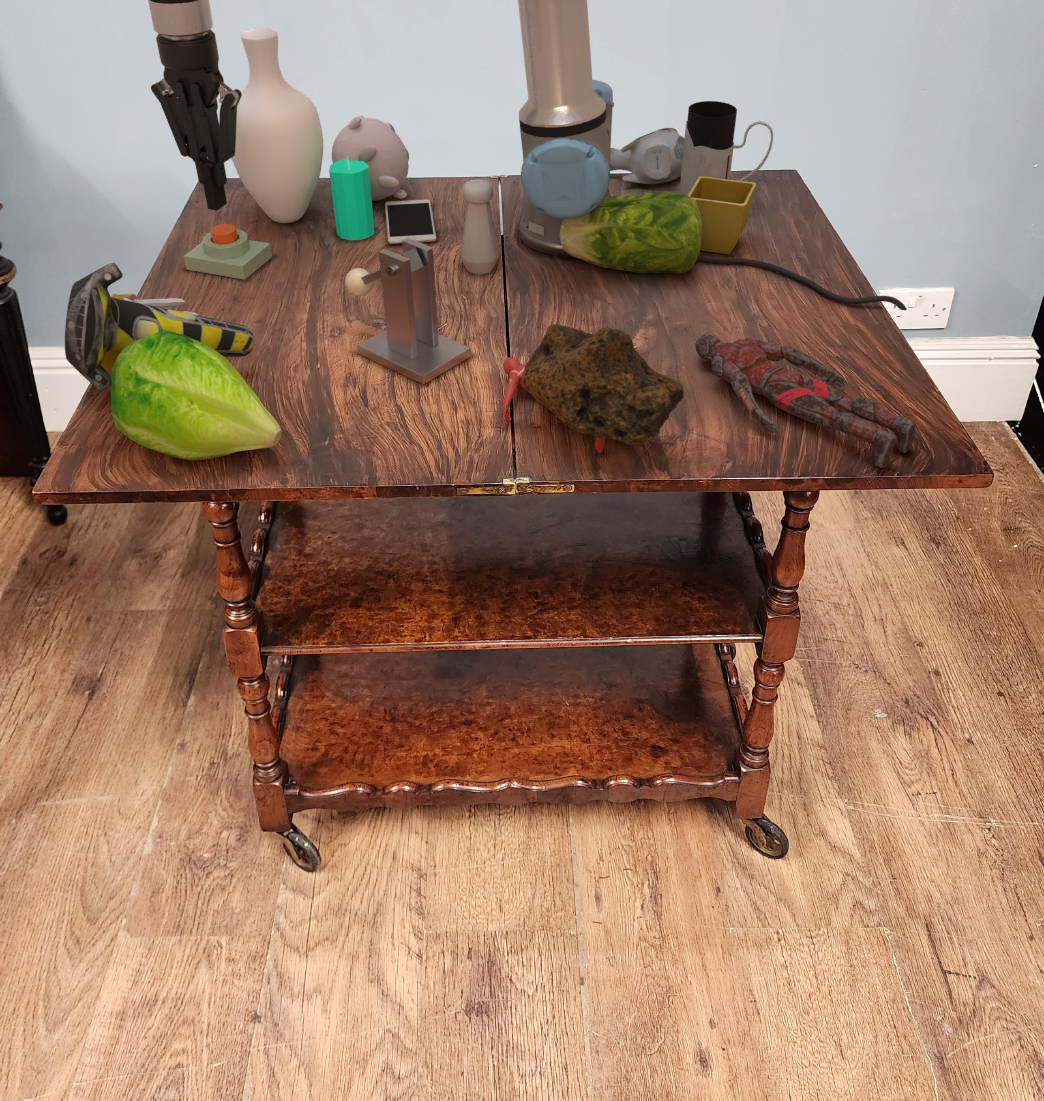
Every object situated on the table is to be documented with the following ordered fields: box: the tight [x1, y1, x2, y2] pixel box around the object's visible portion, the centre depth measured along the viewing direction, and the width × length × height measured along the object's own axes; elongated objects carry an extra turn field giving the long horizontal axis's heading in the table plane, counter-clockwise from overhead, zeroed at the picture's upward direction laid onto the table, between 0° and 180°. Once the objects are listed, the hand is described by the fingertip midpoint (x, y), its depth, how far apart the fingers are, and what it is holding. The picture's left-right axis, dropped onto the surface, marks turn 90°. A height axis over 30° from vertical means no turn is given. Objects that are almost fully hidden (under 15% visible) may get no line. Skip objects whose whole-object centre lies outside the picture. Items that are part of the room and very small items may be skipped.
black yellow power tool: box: [64, 262, 255, 392], centre depth 125 cm, size 14×26×10 cm
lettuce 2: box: [559, 190, 702, 276], centre depth 157 cm, size 12×21×11 cm, turn 86°
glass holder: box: [678, 100, 774, 195], centre depth 172 cm, size 9×14×15 cm, turn 74°
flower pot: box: [688, 176, 757, 255], centre depth 163 cm, size 9×9×9 cm
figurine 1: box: [502, 356, 606, 453], centre depth 131 cm, size 16×4×20 cm
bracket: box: [356, 238, 472, 386], centre depth 137 cm, size 12×9×15 cm
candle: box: [328, 156, 375, 241], centre depth 166 cm, size 6×6×12 cm
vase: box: [231, 27, 324, 224], centre depth 164 cm, size 14×14×28 cm
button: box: [210, 223, 238, 245], centre depth 159 cm, size 4×4×2 cm
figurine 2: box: [695, 333, 917, 469], centre depth 131 cm, size 14×5×30 cm
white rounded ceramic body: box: [610, 127, 685, 185], centre depth 183 cm, size 9×19×10 cm
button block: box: [183, 228, 273, 281], centre depth 161 cm, size 10×8×4 cm
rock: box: [522, 323, 685, 445], centre depth 122 cm, size 13×12×20 cm
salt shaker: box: [459, 178, 500, 276], centre depth 156 cm, size 6×6×13 cm
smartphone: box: [384, 199, 438, 245], centre depth 172 cm, size 8×1×15 cm
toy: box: [331, 115, 410, 202], centre depth 176 cm, size 14×12×15 cm
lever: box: [344, 248, 424, 297], centre depth 138 cm, size 14×4×4 cm
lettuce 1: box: [109, 330, 283, 462], centre depth 123 cm, size 14×20×12 cm
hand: (217, 206), depth 156 cm, fingers closed
